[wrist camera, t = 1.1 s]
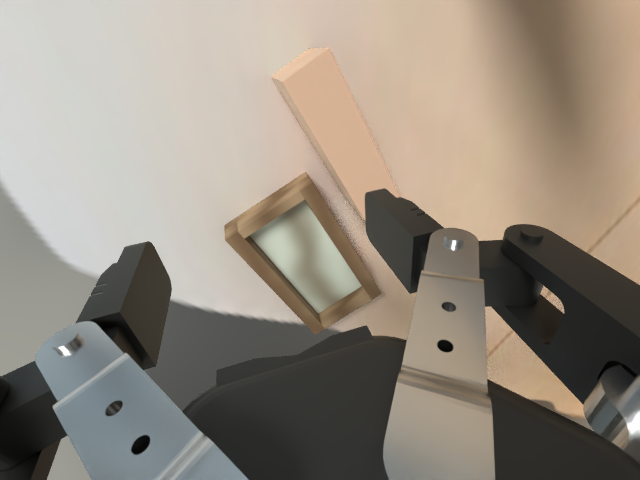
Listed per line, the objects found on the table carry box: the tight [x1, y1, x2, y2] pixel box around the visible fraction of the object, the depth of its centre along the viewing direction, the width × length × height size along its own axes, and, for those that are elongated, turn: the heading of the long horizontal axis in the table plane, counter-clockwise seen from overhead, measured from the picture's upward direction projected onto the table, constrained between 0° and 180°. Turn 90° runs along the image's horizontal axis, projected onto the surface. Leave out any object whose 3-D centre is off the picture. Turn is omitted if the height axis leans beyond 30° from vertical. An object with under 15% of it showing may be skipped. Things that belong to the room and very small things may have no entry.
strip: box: [271, 48, 400, 220], centre depth 28 cm, size 4×14×6 cm, turn 32°
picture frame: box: [225, 172, 381, 334], centre depth 36 cm, size 10×18×3 cm, turn 30°
